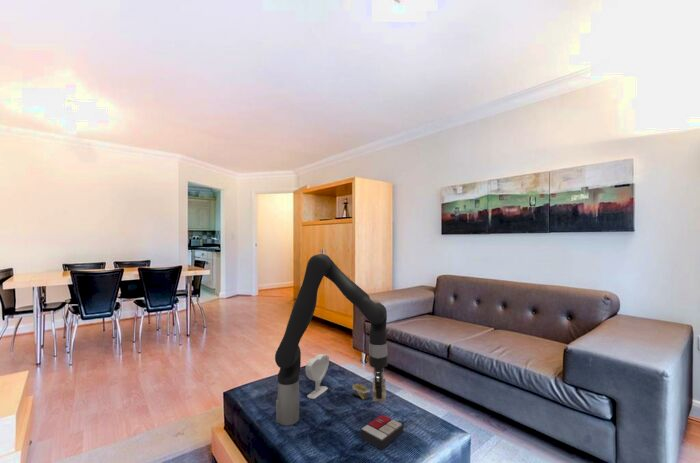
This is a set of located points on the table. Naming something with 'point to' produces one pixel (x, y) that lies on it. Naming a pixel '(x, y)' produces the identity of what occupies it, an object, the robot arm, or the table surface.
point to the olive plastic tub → (360, 391)
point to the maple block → (382, 392)
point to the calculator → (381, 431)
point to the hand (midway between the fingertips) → (379, 394)
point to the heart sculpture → (317, 373)
